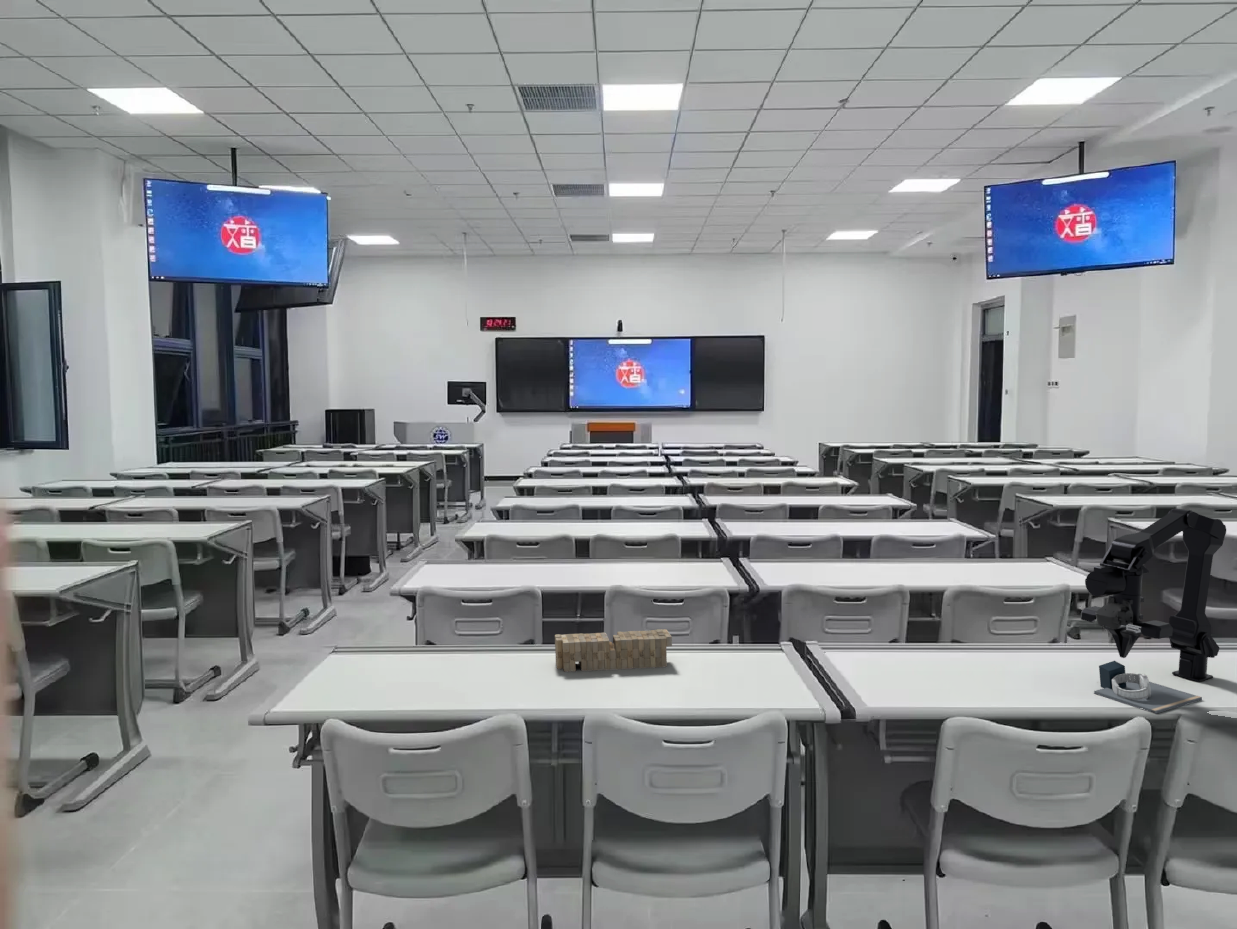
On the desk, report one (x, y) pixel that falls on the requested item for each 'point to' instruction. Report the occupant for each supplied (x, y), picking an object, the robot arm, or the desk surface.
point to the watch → (1123, 681)
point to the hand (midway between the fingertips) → (1123, 657)
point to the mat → (1153, 697)
